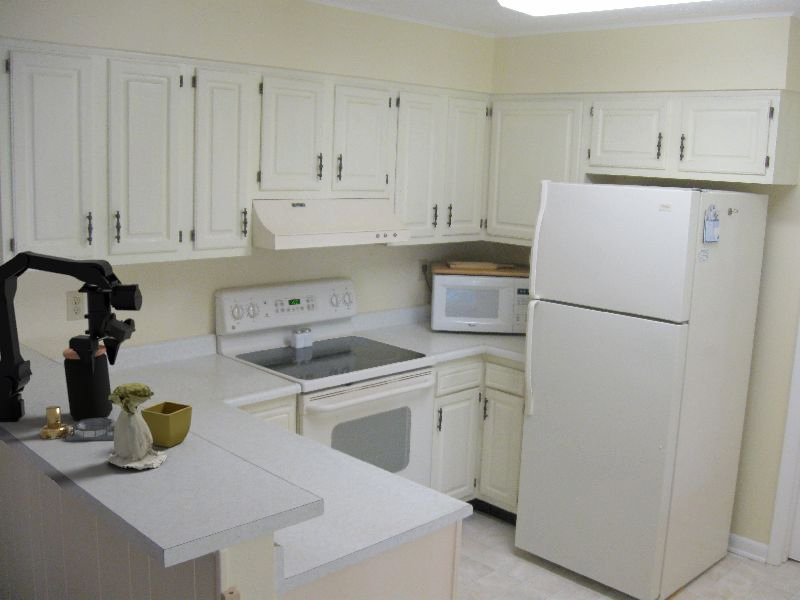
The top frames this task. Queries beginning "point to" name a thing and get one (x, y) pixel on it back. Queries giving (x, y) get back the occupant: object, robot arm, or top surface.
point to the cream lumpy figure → (133, 429)
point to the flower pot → (168, 422)
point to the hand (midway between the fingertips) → (101, 369)
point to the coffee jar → (87, 386)
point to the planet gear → (54, 424)
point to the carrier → (92, 430)
